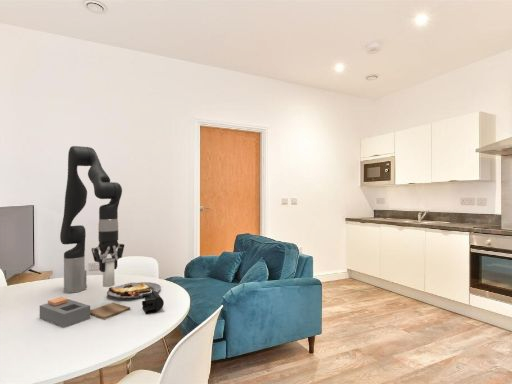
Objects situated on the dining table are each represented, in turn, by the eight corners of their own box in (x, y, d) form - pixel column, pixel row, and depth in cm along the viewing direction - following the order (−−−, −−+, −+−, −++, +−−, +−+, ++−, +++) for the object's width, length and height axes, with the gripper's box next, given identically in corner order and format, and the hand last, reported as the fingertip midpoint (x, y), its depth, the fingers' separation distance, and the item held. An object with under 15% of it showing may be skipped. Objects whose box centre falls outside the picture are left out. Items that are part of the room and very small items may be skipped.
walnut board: (112, 304, 138) (112, 302, 138) (130, 309, 132) (130, 307, 132) (86, 313, 128) (86, 311, 128) (104, 319, 122) (104, 317, 122)
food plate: (113, 304, 138) (114, 296, 138) (101, 292, 156) (101, 285, 156) (167, 294, 154) (167, 287, 154) (150, 284, 172) (150, 278, 172)
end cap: (163, 312, 130) (163, 295, 130) (146, 315, 126) (146, 298, 126) (158, 304, 138) (158, 289, 139) (141, 307, 135) (141, 292, 135)
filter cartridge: (110, 283, 133) (110, 257, 133) (117, 284, 131) (117, 258, 131) (99, 285, 129) (99, 259, 129) (106, 287, 127) (106, 260, 127)
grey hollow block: (65, 309, 132) (65, 298, 132) (90, 318, 123) (90, 305, 123) (39, 318, 124) (39, 305, 124) (64, 327, 115) (64, 314, 115)
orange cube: (61, 308, 130) (61, 296, 130) (68, 310, 127) (68, 298, 127) (47, 312, 125) (47, 300, 125) (54, 315, 123) (54, 302, 123)
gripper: (97, 232, 122) (97, 275, 122) (128, 228, 135) (129, 267, 134) (86, 231, 126) (86, 273, 126) (118, 227, 138) (118, 265, 138)
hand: (108, 270), depth 130 cm, fingers closed on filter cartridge, 4 cm apart
